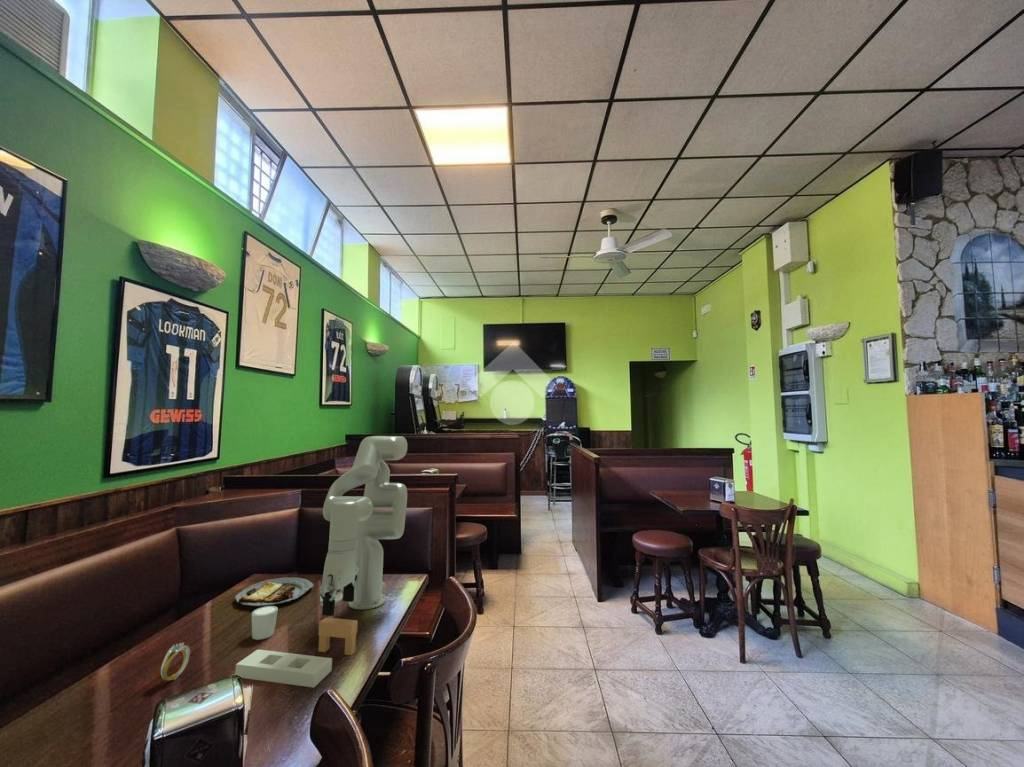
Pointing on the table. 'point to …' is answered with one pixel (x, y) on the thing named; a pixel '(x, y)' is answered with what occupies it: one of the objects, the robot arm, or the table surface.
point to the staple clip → (337, 633)
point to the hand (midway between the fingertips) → (338, 607)
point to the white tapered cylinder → (263, 622)
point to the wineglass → (337, 597)
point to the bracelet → (166, 662)
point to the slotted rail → (284, 668)
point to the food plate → (273, 591)
